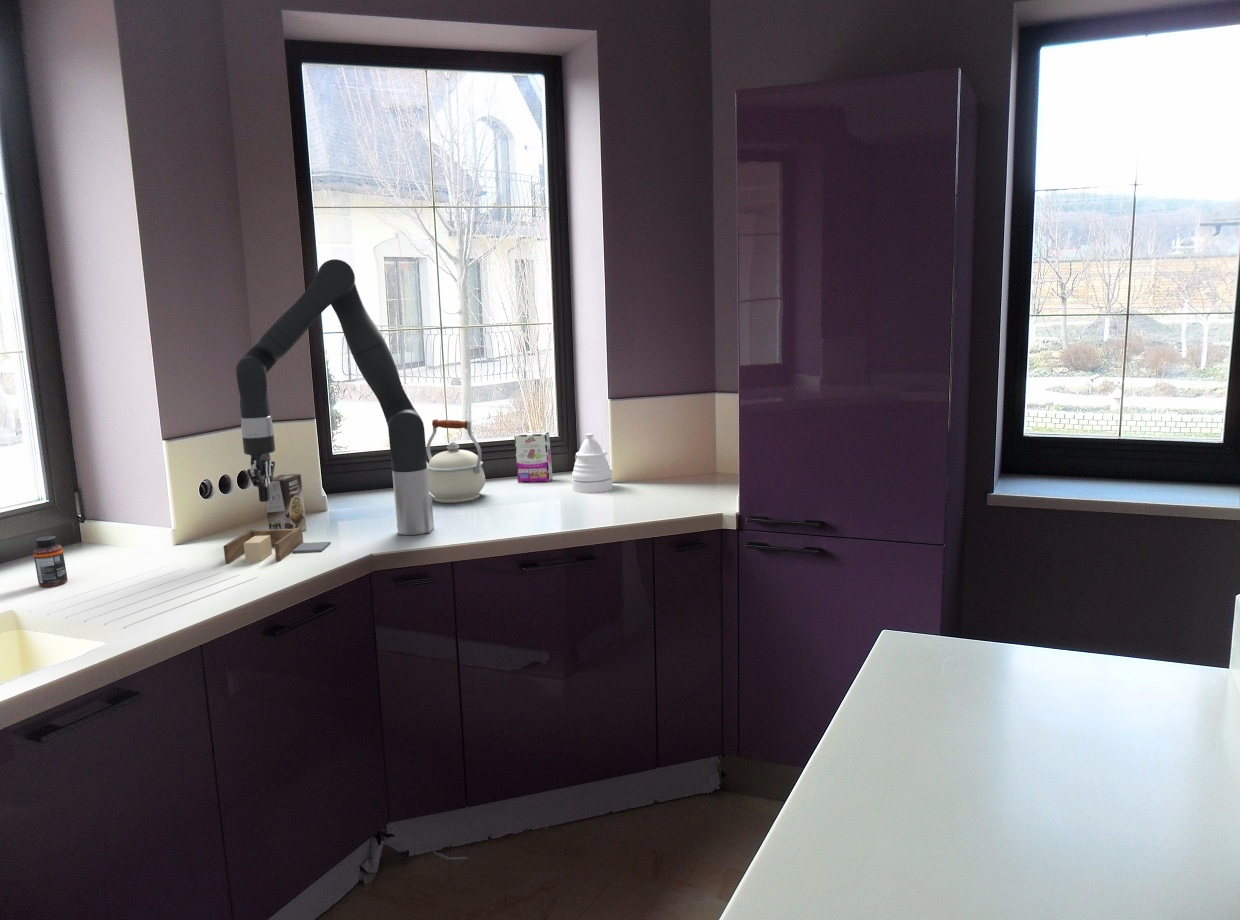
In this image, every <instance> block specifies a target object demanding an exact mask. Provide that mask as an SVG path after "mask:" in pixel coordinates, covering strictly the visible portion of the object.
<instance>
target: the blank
mask: <svg viewBox="0 0 1240 920" xmlns="http://www.w3.org/2000/svg"><path fill="white" fill-rule="evenodd" d="M243 544H244V552H245V553H244V558H245V559H244V560H245V563H259V562H261V563H262V562H264V561H265V560H266V559H267V558H269V557H270V556H272V555H273V549H272V547H273V546H271V539H270V535H266V536H254V537H252V538H251V539H249V540H248V541H246V542H245V543H243Z"/></svg>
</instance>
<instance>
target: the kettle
mask: <svg viewBox="0 0 1240 920" xmlns="http://www.w3.org/2000/svg"><path fill="white" fill-rule="evenodd" d="M431 425H432V426H431V427H432V434H431V435H430V437H429V439H428V441H427V443H426V456H427V458H428V460H429V462H427V474H428V485H429V494H431V496H432V495H433V497H434V498H433V499H434V501H436V502H438V503H445V504H451V503H452V504H453V503H454V504H456V503H457V504H458V503H465V502H470V501H474V500H476V499H479V497H480V496H481V494H480V492H481V491H482V490H483V489H484V487H485V485H486V475H485V472H484V469H483V467H482V465H483V464H484V462H483V461H482V448H481V446H480V444H479V442H478V441H477V439H476V438H475V437H474V435H473V434H472V428H471V426H472V424H471V421H470V420H465V421H463V420H454V419H453V420H452V419H444V420H443V419H441V420H439V419H437V418H436V419H432V423H431ZM438 428H442V429H456V430H459V429H464V430H466V431H467V434H468V437H469V438H470V440H471V441H472V443H473V444H474V446H475V447H476V449H477V450H476V451H477V454H476V453H474V452H472V451H470V450H466V449H459V448H460V445H459V444H458V443H456V442H454V441H452V442H451V443H449V444H448V445H447V446H446V448H447V450H445V451H444V450H443V451H441V452H439V453H436V454H435V455H433V456H432V453H431V445H432V441H433V440H434V438H435V436H436V434H437V429H438Z"/></svg>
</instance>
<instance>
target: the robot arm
mask: <svg viewBox="0 0 1240 920" xmlns="http://www.w3.org/2000/svg"><path fill="white" fill-rule="evenodd" d="M329 306H331V307H332V309H333V311H334V313H335V314H336V317H337V319H338V321H339V323H340V327H341V329H342V332H343V335H344V337H345V341H346V343H347V346H348V349H349V351H350V354H351V355H352V358H353V360H354V361H355V364H356V366H357V368H358V370H359V372H360V373H361V375H362V378H363V379H364V380H365V382H366V384H367V385H368V386H369V388H370V390H371V391H372V392H373V394H374V395H375V397H376V399H377V400H378V403H379V405H380V409H382V413H383V416H384V418H385V421H386V424H387V429H388V438H389V439H388V443H389V453H390V463H391V472H392V473H391V474H392V483H393V494H394V495H393V496H394V503H395V504H394V505H395V506H394V507H395V516H396V527H397V534H399V535H403V536H415V535H416V536H417V535H423V534H427V533H428V534H430V533H431V532H432V531H433V530H434V529H435V524H434V523H435V522H434V511H433V510H434V509H433V500H432V499H433V498H432V494H431V493H430V492H429V485H428V474H427V463H428V460H427V458H428V455H427V450H426V447H427V443H426V432H425V426H424V424H425V423H424V421H423V420H422V418H421V416H420V415H419V412H417V411H416V409H415V407H414V406H413V403H412V402H411V400H410V398H409V397H408V395H407V393H406V391H405V389H404V387H403V384H402V381H401V378H400V375H399V371H398V368H397V366H396V363H395V361H394V358H393V355H392V352H391V351H390V349H389V347H388V345H387V342H386V340H385V338H384V337H383V335H382V333H381V331H380V330H379V328H378V326H377V325H376V323H375V322H374V320H373V318H372V317H371V315H370V314H369V313H368V311H367V310H366V308H365V306H364V304H363V301H362V299H361V295H360V294H359V290H358V287H357V285H356V274H355V271H354V269H353V268H352V266H351V265H350V264H349V263H348V262H347V261H345V260H342V259H337V258H334V259H333V258H332V259H329V260H326V261H325V262H323V263H321V265H320V267H319V268H318V270H317V273H316V274H315V277H314V278H313V280H312V281H311V283H310V284H309V286H308V287H307V288H306V290H305V291H304V292H303V294H302V295H301V296H300V297H299V298H298V299H297V300H296V301H295V302H294V303H293V304H292V305H291V306H290V307H289V308H288V309H287V310H286V311H285V312H284V313H282V315H281V316H280V317H279V318H277V320H276V321H275V322H274V323H273V324H272V325H271V326H270V327H269V328H268V329H267V330H266V332H265V333H264V334H263V335H262V336H261V337H260V338H259V340H258V342H257V343H255V345H254V346H252V347H251V348H250V350H248V351H247V352H246V353H245V354H244V355H243V356H242V357H241V358H240V359H239V360H238V362H237V364H236V366H235V375H236V382H237V389H238V392H239V408H240V409H239V410H240V417H241V418H240V419H241V420H240V421H241V426H240V428H241V439H242V446H243V447H242V448H243V453H244V455H249V456H250V468H248V469H247V471H246V473H247V476H249V477H248V478H249V479H250V481H251V483H252V485H253V487H256V488H257V490H258V497H259V499H258V500H259V502H263V503H264V502H265V503H266V502H267V501H269V500H270V493H269V486H270V482H272V479H273V477H274V472H275V466H276V463H275V461H274V460H272V459H271V455H270V454H271V453H274V452H275V451H276V444H275V443H276V442H275V434H274V432H275V431H274V424H273V420H272V416H271V415H272V414H271V405H270V399H269V396H268V384H267V383H268V381H267V374H268V373H269V372H270V370H272V368H273V367H274V366H275V364H276V363H277V362H278V361H279V360H280V359H281V358H283V357H284V356H285V355H286V354H288V352H289V351H290V350H292V348H293V347H294V346H295V345H296V344H297V342H299V340H300V339H301V338H302V337H303V336H304V334H306V332H307V331H308V330H309V328H310V327H311V326H312V324H313V323H314V322H315V320H316V319H317V318H318V317H319V316H320V315H321V314H322V313H323V312H324V311H325V310H326V309H327V308H328V307H329Z"/></svg>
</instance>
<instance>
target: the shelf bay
mask: <svg viewBox="0 0 1240 920" xmlns="http://www.w3.org/2000/svg"><path fill="white" fill-rule="evenodd" d="M266 535H270V539H271V547H273V546H274V552H275V553H274V554H275V561H276V562H281V561H283V560H284V559H285V558H286V557H287V556H288V555H290V554H292V550H294V549H295V548H296V547H298V546H299V545H300V544H301V543H304V537H303V532H302V528H295V529H279V530H269V529H262V530H261V529H259V530H253V529H248V530H247V531H245V532H243V533H241V534H240V535H239V536H237V537H236V538H234V539H232V540H231V541H229V542H227V543H226V544H225V545H223V553H224V559H225V560H224V562H225V564H226V565H229V564H231V563H233V562H235V560H237V559H238V558H240V557H241V556H243V555H245V552H244V544H243V543H245V542H246V541H248V540H249V539H251V538H252V537H254V536H266Z"/></svg>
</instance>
